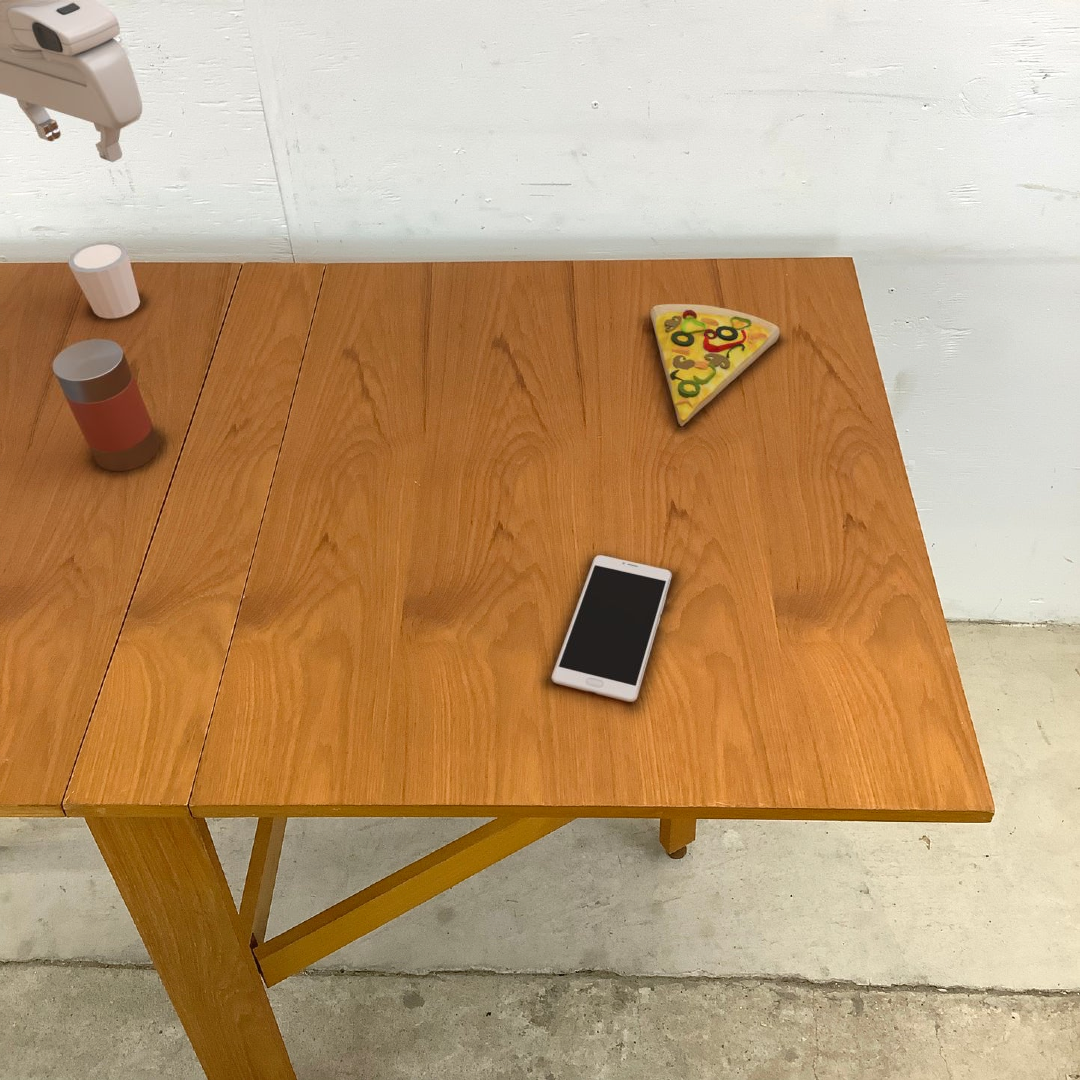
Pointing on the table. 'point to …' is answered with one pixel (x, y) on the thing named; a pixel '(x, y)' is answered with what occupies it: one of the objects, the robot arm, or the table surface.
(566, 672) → the smartphone
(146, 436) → the tin can
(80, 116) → the robot arm
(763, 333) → the pizza slice
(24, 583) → the table surface
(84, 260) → the shot glass
